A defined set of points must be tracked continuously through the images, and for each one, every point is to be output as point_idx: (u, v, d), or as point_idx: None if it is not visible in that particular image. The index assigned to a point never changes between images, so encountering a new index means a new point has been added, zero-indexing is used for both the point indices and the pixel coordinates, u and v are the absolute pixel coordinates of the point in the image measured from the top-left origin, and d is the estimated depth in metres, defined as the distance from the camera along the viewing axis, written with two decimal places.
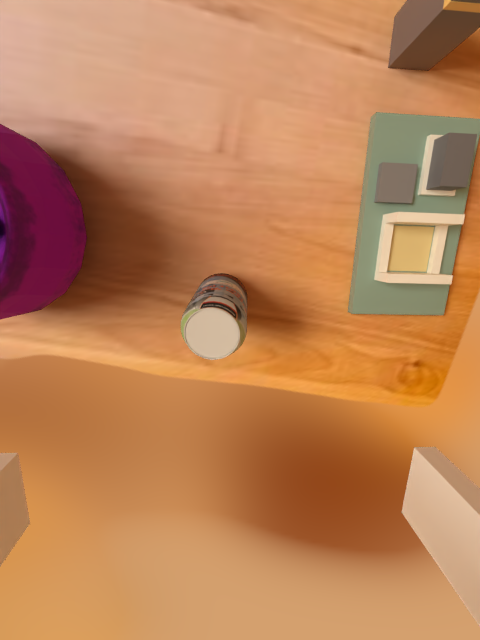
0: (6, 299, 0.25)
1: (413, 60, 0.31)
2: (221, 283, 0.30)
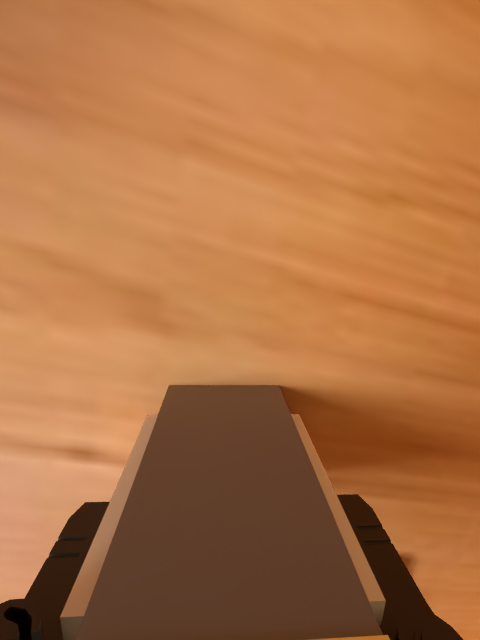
0: None
1: None
2: None
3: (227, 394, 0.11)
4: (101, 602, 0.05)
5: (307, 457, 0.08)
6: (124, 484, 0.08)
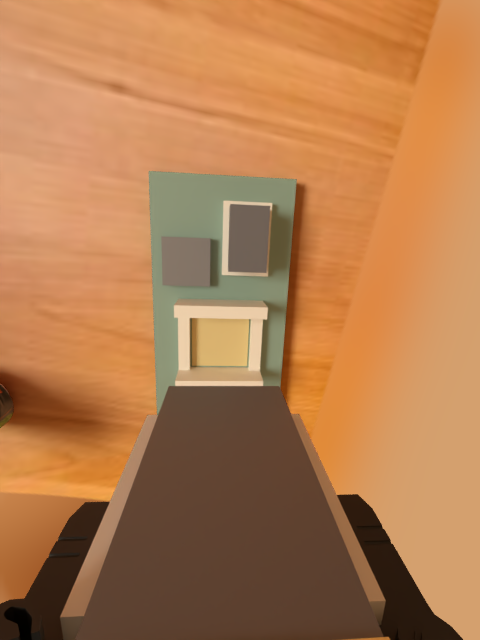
0: None
1: None
2: None
3: (227, 395, 0.11)
4: (101, 604, 0.05)
5: (307, 458, 0.08)
6: (124, 484, 0.08)
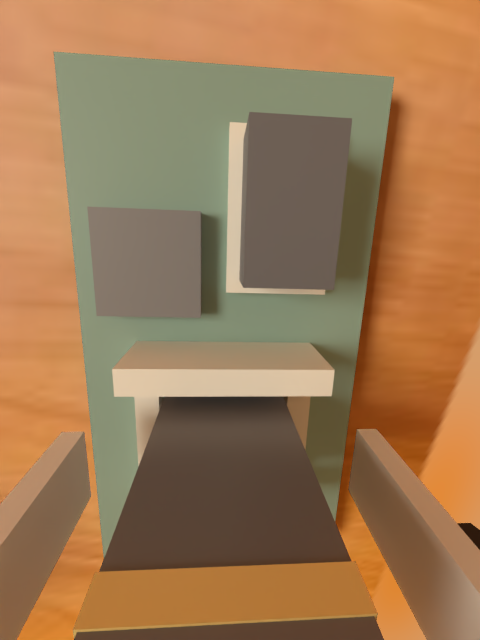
0: None
1: None
2: None
3: None
4: (122, 538, 0.06)
5: (297, 433, 0.09)
6: None
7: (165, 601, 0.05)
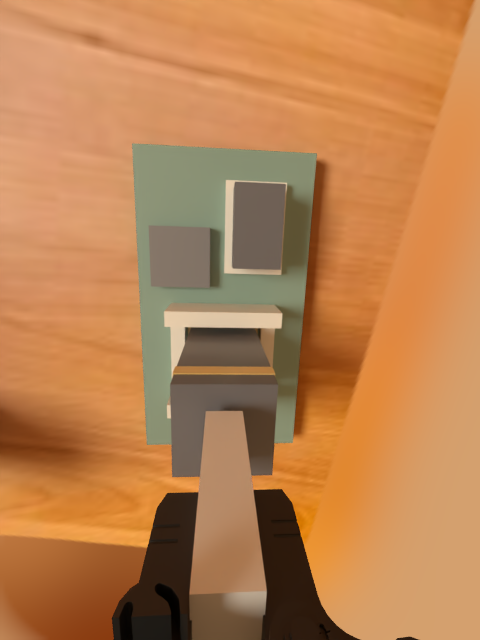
0: None
1: None
2: None
3: None
4: (182, 361, 0.15)
5: (260, 342, 0.18)
6: (206, 475, 0.09)
7: (201, 371, 0.14)
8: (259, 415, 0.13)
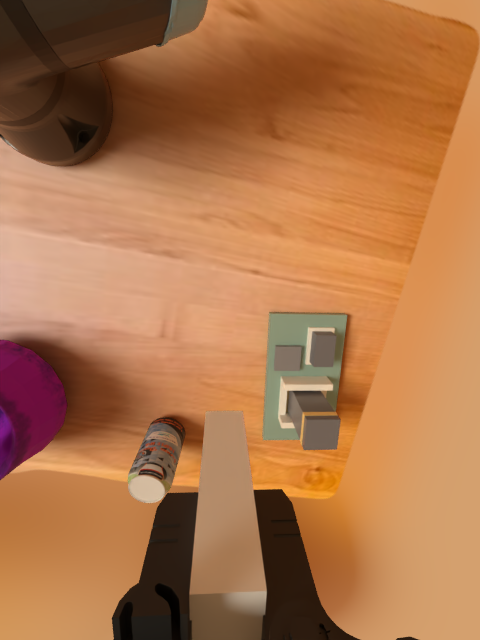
0: None
1: None
2: (160, 438, 0.44)
3: None
4: (303, 409, 0.41)
5: (325, 398, 0.45)
6: (206, 475, 0.09)
7: (312, 414, 0.40)
8: (333, 429, 0.39)
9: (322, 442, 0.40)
